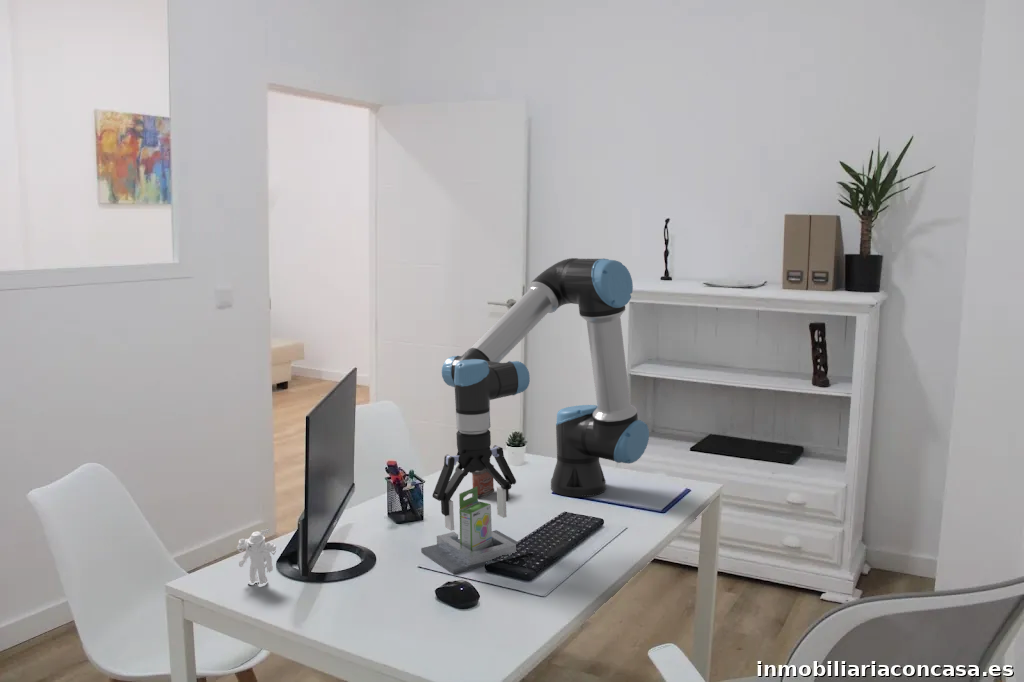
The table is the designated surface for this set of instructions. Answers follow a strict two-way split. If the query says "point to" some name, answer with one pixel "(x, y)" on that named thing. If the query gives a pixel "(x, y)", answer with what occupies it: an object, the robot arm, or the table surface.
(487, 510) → the ink box
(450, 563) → the chassis plate
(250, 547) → the flower shoulder figurine
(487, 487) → the lighter
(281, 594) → the table surface
